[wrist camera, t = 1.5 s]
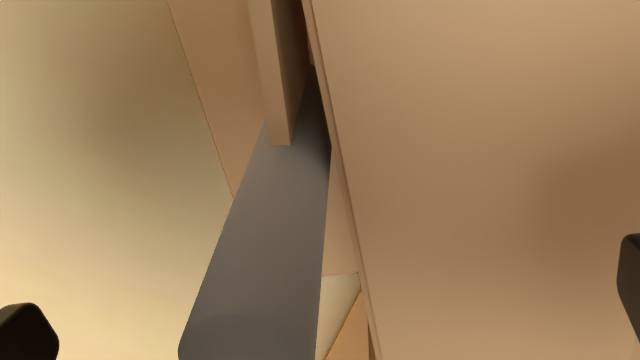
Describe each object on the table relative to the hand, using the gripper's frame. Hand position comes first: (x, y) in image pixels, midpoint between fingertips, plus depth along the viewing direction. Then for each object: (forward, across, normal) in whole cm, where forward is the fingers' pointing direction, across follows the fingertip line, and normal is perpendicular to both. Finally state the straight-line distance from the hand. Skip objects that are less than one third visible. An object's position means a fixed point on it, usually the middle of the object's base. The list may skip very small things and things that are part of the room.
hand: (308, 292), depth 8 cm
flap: (+9, 0, -3) cm, 9 cm away
